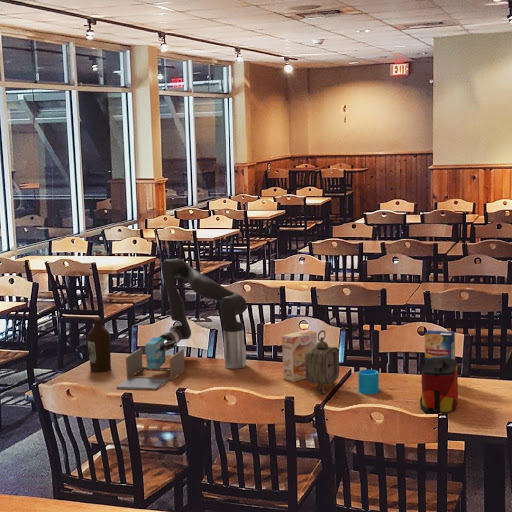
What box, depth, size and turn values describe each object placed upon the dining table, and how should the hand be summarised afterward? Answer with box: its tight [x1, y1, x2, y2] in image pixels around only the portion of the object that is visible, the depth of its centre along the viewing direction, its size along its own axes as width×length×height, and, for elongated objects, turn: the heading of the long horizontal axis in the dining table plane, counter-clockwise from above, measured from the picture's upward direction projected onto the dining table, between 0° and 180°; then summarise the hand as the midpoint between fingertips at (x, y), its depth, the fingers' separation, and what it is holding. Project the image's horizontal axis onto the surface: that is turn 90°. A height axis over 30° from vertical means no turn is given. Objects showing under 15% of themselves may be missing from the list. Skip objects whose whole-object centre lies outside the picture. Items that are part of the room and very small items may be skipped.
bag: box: [419, 357, 459, 415], centre depth 332 cm, size 30×14×16 cm, turn 164°
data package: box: [144, 336, 166, 369], centre depth 393 cm, size 12×4×12 cm, turn 166°
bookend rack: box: [125, 347, 186, 381], centre depth 394 cm, size 21×17×10 cm
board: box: [116, 378, 168, 390], centre depth 378 cm, size 18×14×1 cm
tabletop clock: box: [305, 329, 340, 395], centre depth 357 cm, size 14×9×25 cm, turn 151°
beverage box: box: [424, 329, 456, 363], centre depth 358 cm, size 7×11×22 cm, turn 65°
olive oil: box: [86, 316, 112, 373], centre depth 406 cm, size 11×11×25 cm
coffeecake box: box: [281, 329, 318, 382], centre depth 379 cm, size 15×7×20 cm, turn 131°
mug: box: [357, 369, 380, 395], centre depth 356 cm, size 12×8×8 cm
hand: (155, 348), depth 393 cm, fingers closed on data package, 4 cm apart
